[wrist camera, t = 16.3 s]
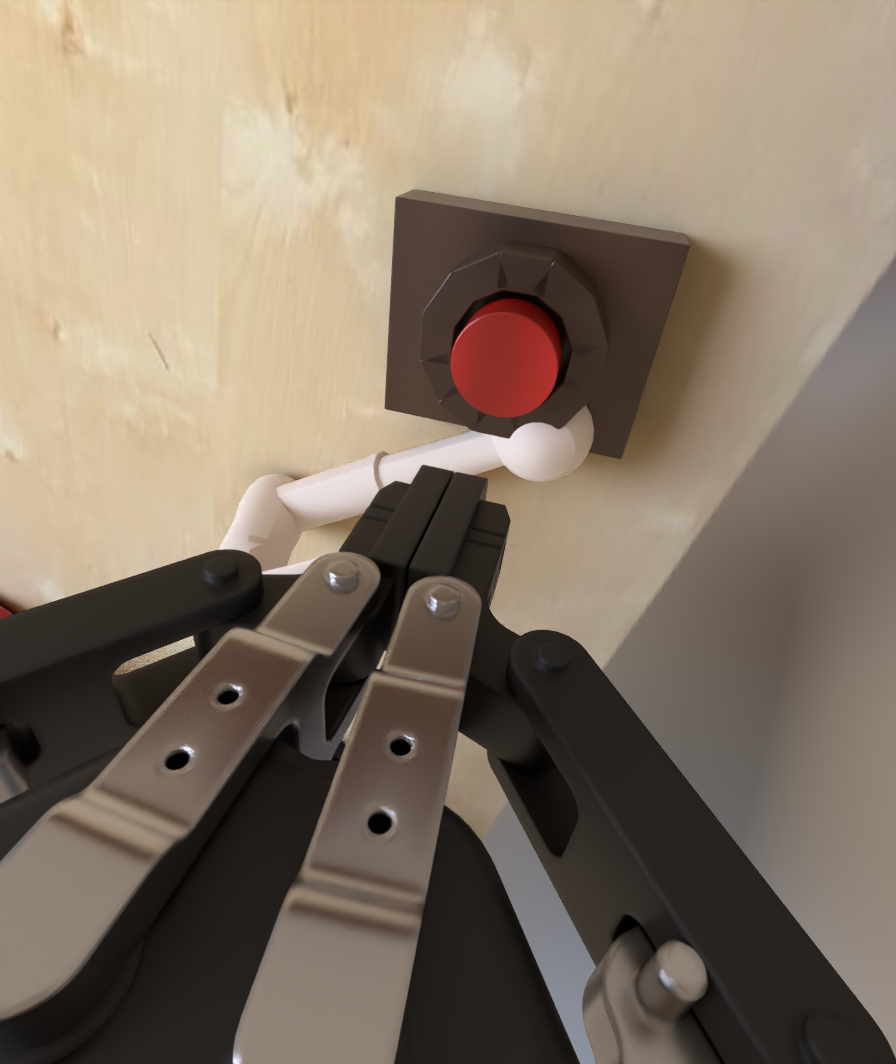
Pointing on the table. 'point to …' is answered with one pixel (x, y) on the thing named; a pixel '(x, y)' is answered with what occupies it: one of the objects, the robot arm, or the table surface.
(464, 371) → the button
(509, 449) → the faucet
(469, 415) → the button block
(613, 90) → the table surface
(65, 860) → the robot arm
